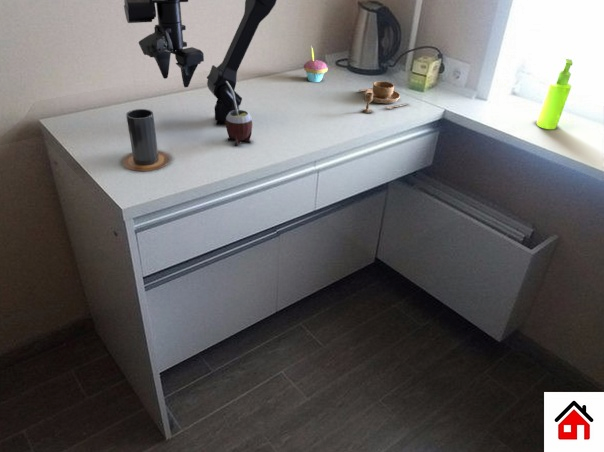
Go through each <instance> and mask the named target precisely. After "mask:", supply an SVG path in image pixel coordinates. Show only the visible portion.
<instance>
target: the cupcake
mask: <svg viewBox="0 0 604 452" xmlns="http://www.w3.org/2000/svg"><path fill="white" fill-rule="evenodd" d="M310 52H311V53H310V54H311V59H310V60H307V61H306V62H305V63H304V64H303V70H304V71H305V73H306V76H307V80H308V81H309V82H311V83H319V82H321V81H322V79H323V77H324V74H325V73H327V72H328V64H326V62H324V61H323V60H320V59H315V55H314V48H313V46H312V45H310Z"/></svg>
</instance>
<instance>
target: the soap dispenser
mask: <svg viewBox="0 0 604 452" xmlns="http://www.w3.org/2000/svg"><path fill="white" fill-rule="evenodd" d="M563 62H564V64H563V68H562V70H560V71H558V73H557V75H556V78H555V81H550V82H549V85H548V87H547V91H546V94H545V97H544V99H543V103H542V106H541V109H540V112H539V115H538V118H537V121H536V126H538V127H539V128H542V129H546V130H556V129H557V127H558V124H559V122H560V119H561V116H562V113H563V111H564V108H565V105H566V103H567V99H568V96H569V94H570V91H571V88H572V85H571V84H569V81H570V78H571V75H572V74H571V72H570V70H571V69H570V68H571V66H573V63H574V62H573V60H572V59H569V58H563Z"/></svg>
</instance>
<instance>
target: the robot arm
mask: <svg viewBox="0 0 604 452" xmlns="http://www.w3.org/2000/svg"><path fill="white" fill-rule="evenodd" d="M188 2H189V0H124V5H123V9H124V16H125V19H126V22H127V23H128V24H139V23H153V20H156V19H155V18H156V17H157V23H158V24H155V25H154V32H152V33H149V34H148V35H147V36H145V37H143V38H142V39H140V40H139V41H138V45H139V47H140V49H141V51H142V53H143V55H144V56H148V57H150V58H154V60H155V62H156V64H157V66H158V69H159V71H160V73H161V76H162V78H163V79H164V80H165V79H168V78H169V72H170V64H171V55H172V54H173V55H174V57H175V61H176V62H175V65H176V66H177V67H179V68H180V73H181V79H182V84H183V87H184V88H188V87H189V86H190V83H191V81H192V78H193V76H194V74H195V72H196V70H197V68H198V65H200V64H202V62H204V61H205V55H204V54H205V53H204V52H203V51H202V50H201V49H198V48H196V47H194V46H190V47H188V42H187V41H184V35H183V34H184V33H183V31H186V29H187V27H186V24H183V22H182V10H181V9H182V8H181V3H188ZM277 2H278V1H277V0H245V1H244V12H243V15H242V18H241V20H240V23H239V24H238V26H237V28H236V31H235V34H234V36H233V37H232V40H231V42H230V45H229V46H228V49H227V51H226V53H225V55H224V58H223V59H222V62H221V63H220V64H218V65H217V66H215V65H212V66H211V69H210V71H209V73H208V75H207V76H206V79H207V83H206V85H207V88H208V90H209V91H210V92H211V94H212V95H213V96H214V97H215V99H216V102H215V105H214V121H215V125H216V126H226V124H225V123H226V117H227V115H228V114H229V112H231V111H233V110H235V105H234V101H233V97H232V94H231V90H230V88H229V86H228V85H227V83H226V81H228V83H229V84H230V86H231V87H232V89H233V91H234V94H235V95H234V96H235V100H236V105H237V109H238V110H240V106H241V104H242V101H243V98H242V97H241V96H240V94H238V92H237V91H235V89H236V86H237V79H238V71H239V68H240V67H241V64H242V62H243V60H244V58H245V55H246V54H247V51H248V49H249V47H250V45H251V43H252V40H253V38H254V36H255V34H256V32H257V30H258V27H259V25H260V24H261V22H262V21H264V19H266V17H268V15H269V14H270V13H271V12H272V10H273V9H274V7H275V6H276V4H277Z"/></svg>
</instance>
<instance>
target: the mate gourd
mask: <svg viewBox="0 0 604 452" xmlns="http://www.w3.org/2000/svg"><path fill="white" fill-rule="evenodd" d="M226 83H227V85H228V86H229V88H230V90H231V94H232V97H233V101H234V105H235V110H233V111H231V112H229V114H228V115H227V117H226V123H225V124H226V125H225V128H226V132H227V136H228V138H227V140H228V141H229V142H235V143H234V146H235V147H239V145H240V144H241V143H244V144H251V137H252V131H253V120H252V116H251V114H250V113H249V112H248V111H247V110H245V109H244V110H243V109H239V110H238V109H237V105H236V100H235V96H234V95H235V94H234V91H235V90H234V91H233V89H232V87H231V86H230V84H229V83H228V81H226Z"/></svg>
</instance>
